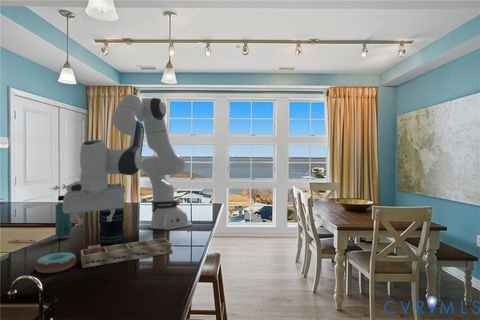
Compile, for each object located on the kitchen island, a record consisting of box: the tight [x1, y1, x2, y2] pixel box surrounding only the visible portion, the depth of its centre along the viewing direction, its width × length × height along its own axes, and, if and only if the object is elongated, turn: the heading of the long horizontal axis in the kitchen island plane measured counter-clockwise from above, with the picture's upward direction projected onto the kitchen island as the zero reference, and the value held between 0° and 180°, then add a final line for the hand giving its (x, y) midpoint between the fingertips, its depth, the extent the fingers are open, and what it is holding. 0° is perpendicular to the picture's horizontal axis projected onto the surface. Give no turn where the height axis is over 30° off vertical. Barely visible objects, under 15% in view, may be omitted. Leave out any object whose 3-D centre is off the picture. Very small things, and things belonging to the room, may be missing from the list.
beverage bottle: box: [54, 194, 72, 238], centre depth 137 cm, size 6×7×20 cm
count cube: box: [87, 244, 101, 254], centre depth 106 cm, size 4×4×4 cm
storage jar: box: [98, 207, 125, 247], centre depth 127 cm, size 10×10×15 cm
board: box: [80, 237, 173, 269], centre depth 111 cm, size 31×10×4 cm, turn 121°
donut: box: [34, 252, 77, 274], centre depth 99 cm, size 12×12×4 cm
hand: (95, 223), depth 106 cm, fingers open, 8 cm apart
